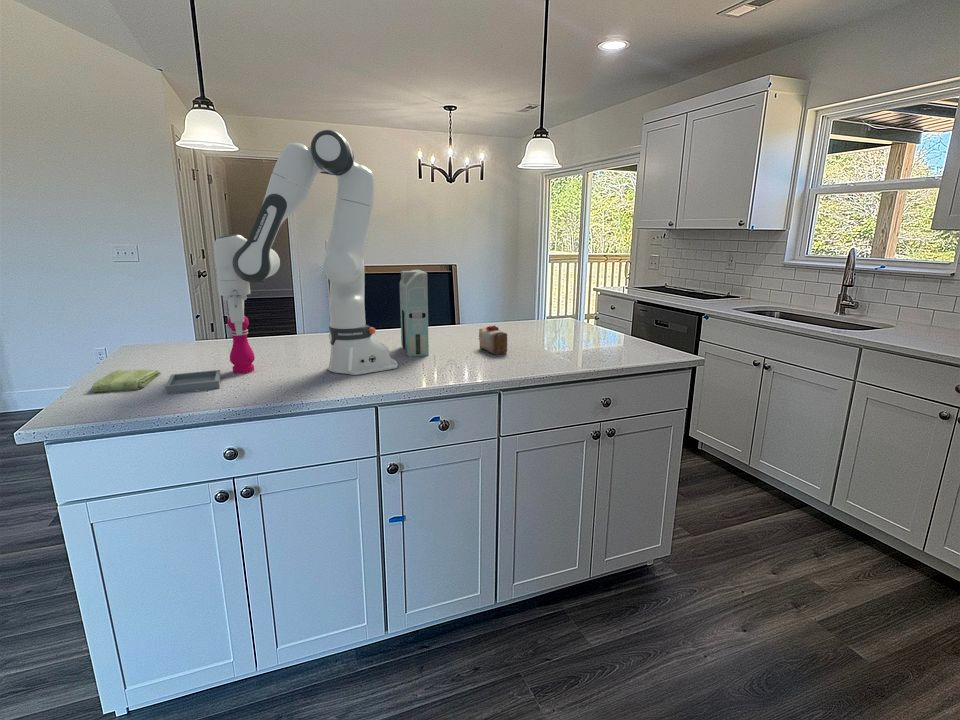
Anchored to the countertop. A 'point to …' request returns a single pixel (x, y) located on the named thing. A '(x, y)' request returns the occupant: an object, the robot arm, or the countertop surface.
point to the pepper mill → (241, 349)
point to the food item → (493, 340)
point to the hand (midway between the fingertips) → (239, 332)
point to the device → (414, 312)
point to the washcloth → (125, 380)
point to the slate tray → (193, 381)
